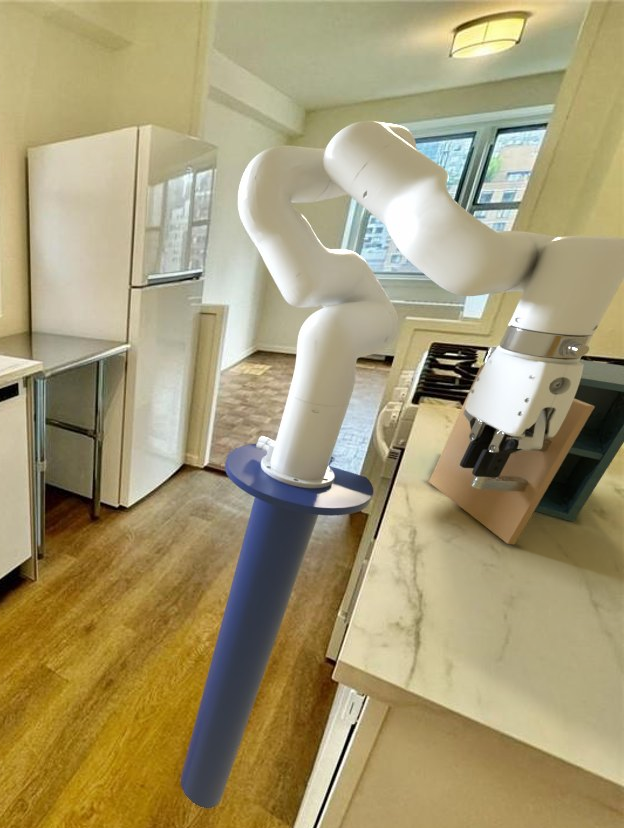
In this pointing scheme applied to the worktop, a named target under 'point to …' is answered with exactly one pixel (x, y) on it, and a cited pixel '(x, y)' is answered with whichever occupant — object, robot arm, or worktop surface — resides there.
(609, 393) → the mini fridge
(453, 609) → the worktop surface
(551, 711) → the worktop surface
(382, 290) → the robot arm
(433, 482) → the fridge door
